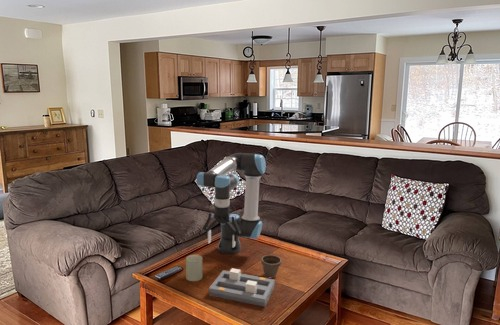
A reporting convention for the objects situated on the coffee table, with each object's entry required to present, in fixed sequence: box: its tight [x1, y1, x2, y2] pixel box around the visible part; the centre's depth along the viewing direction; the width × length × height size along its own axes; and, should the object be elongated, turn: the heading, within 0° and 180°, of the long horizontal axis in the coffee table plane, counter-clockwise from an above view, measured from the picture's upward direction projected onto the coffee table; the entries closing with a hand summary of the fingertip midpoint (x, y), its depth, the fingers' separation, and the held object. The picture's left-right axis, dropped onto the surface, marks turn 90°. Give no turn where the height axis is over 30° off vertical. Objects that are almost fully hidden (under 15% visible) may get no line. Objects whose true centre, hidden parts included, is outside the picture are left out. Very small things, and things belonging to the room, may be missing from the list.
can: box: [185, 254, 203, 282], centre depth 208 cm, size 9×9×12 cm
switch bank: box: [208, 269, 276, 308], centre depth 197 cm, size 20×30×4 cm, turn 73°
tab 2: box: [245, 280, 257, 294], centre depth 190 cm, size 4×5×6 cm
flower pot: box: [260, 254, 282, 279], centre depth 213 cm, size 12×11×10 cm
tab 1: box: [229, 267, 242, 281], centre depth 202 cm, size 4×5×6 cm
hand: (221, 244), depth 194 cm, fingers open, 13 cm apart
